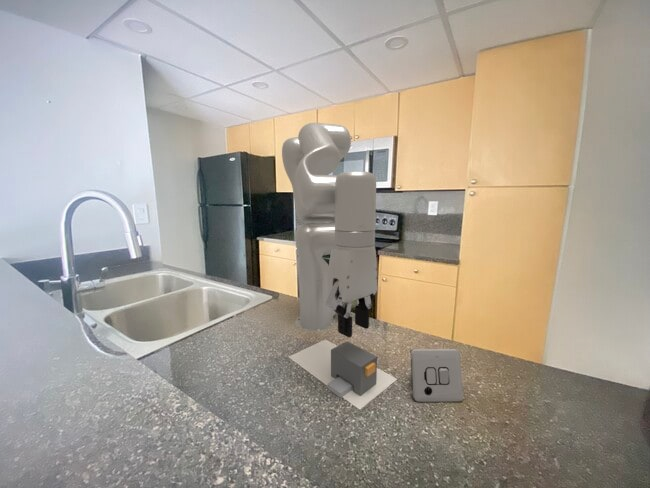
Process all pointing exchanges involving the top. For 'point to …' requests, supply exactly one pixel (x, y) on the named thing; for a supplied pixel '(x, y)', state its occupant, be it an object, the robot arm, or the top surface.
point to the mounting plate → (319, 366)
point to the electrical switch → (436, 375)
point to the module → (354, 366)
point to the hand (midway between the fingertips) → (353, 329)
